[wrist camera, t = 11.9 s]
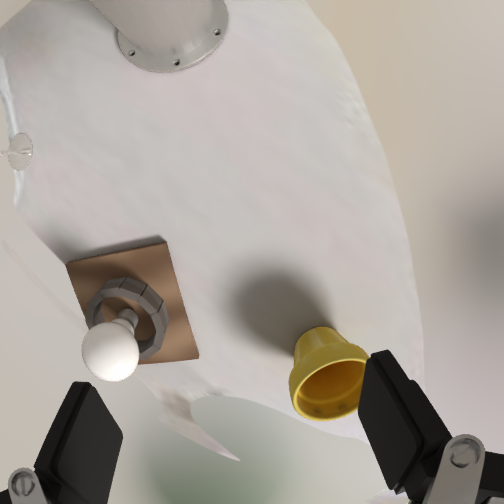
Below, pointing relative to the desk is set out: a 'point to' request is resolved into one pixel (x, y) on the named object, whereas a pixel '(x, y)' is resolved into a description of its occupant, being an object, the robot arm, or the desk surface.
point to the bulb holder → (137, 299)
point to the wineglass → (19, 151)
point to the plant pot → (326, 375)
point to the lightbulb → (112, 347)
